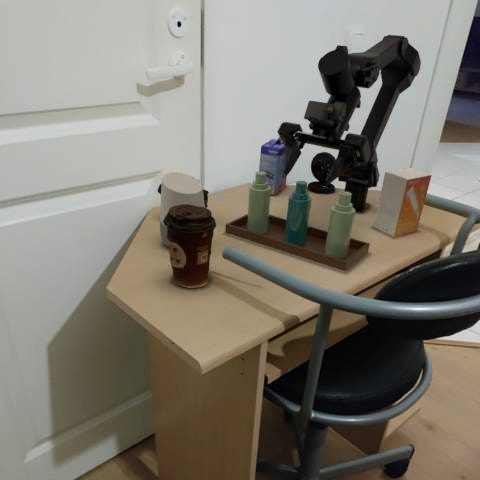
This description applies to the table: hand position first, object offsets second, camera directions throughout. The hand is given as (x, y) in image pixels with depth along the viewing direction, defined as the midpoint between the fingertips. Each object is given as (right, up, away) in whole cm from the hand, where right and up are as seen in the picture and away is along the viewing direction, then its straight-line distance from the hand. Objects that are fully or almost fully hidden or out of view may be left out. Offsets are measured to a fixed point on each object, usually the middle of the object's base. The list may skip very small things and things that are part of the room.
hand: (305, 179), depth 96 cm
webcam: (+9, +8, +38) cm, 40 cm away
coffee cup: (-22, -21, -9) cm, 32 cm away
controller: (-26, -6, +14) cm, 30 cm away
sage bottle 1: (-9, -8, +10) cm, 16 cm away
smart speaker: (-24, -13, +3) cm, 28 cm away
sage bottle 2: (+6, -15, +1) cm, 16 cm away
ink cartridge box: (-4, +7, +36) cm, 37 cm away
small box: (+23, -7, +15) cm, 28 cm away
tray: (-1, -12, +6) cm, 13 cm away
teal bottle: (-1, -11, +6) cm, 13 cm away
